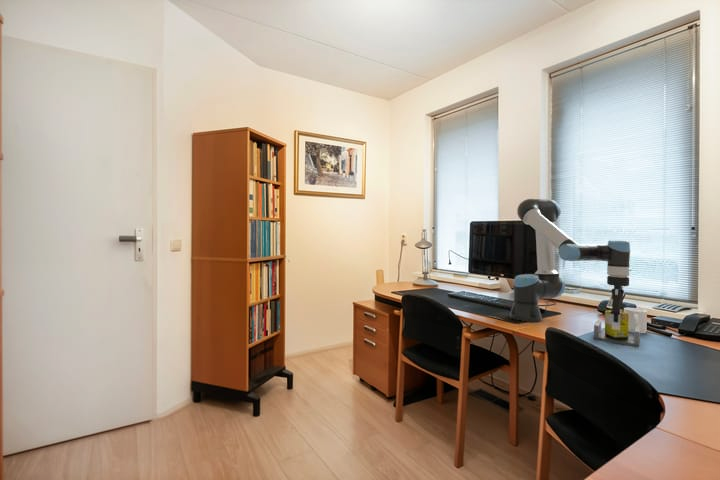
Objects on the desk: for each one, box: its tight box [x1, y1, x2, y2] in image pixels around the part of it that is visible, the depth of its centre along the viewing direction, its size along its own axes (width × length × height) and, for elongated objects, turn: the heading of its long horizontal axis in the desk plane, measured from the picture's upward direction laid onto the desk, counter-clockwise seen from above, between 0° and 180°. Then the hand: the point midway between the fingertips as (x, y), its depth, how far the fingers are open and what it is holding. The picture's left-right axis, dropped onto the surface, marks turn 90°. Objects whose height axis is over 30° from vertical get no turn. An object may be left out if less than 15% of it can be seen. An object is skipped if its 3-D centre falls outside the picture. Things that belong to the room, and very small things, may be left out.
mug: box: [623, 307, 648, 334], centre depth 154 cm, size 12×8×10 cm
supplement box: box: [604, 309, 629, 339], centre depth 144 cm, size 6×6×11 cm
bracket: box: [593, 319, 641, 348], centre depth 144 cm, size 15×12×6 cm
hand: (616, 326), depth 144 cm, fingers open, 11 cm apart
